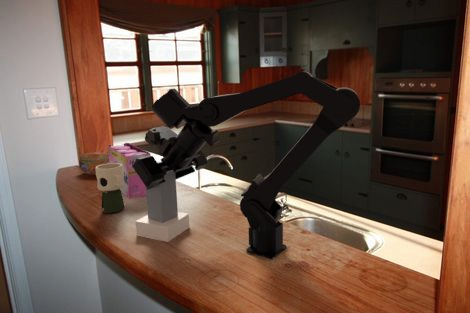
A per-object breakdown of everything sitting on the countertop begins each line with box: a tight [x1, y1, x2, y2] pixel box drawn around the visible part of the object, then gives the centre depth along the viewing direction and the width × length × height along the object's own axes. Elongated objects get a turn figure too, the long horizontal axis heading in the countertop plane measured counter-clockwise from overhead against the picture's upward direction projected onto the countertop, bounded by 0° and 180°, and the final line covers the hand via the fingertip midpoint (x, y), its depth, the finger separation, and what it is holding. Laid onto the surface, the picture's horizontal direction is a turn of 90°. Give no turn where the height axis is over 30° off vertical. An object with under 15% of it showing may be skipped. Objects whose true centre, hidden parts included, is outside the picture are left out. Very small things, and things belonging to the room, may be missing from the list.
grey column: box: [145, 161, 179, 223], centre depth 89 cm, size 5×5×13 cm
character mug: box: [95, 163, 126, 214], centre depth 105 cm, size 11×7×13 cm, turn 45°
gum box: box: [107, 142, 152, 200], centre depth 126 cm, size 24×8×14 cm, turn 33°
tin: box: [78, 152, 109, 176], centre depth 146 cm, size 15×3×8 cm, turn 73°
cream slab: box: [135, 211, 190, 243], centre depth 91 cm, size 9×9×4 cm
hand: (156, 184), depth 90 cm, fingers open, 6 cm apart
